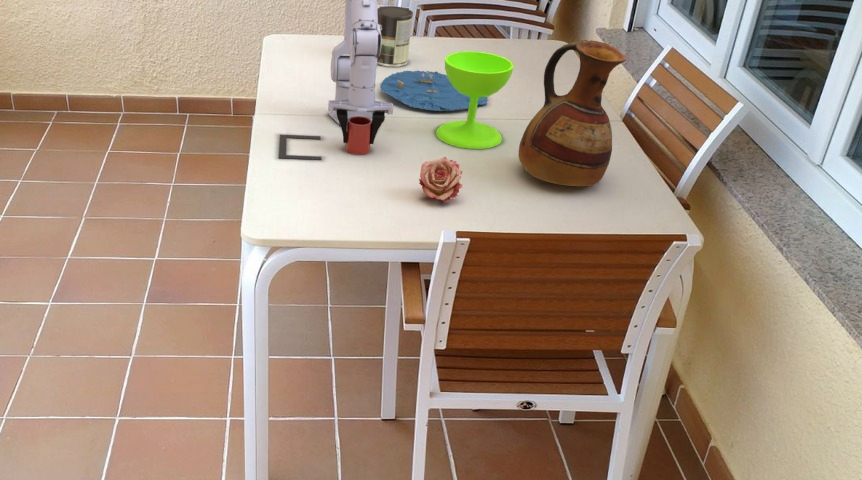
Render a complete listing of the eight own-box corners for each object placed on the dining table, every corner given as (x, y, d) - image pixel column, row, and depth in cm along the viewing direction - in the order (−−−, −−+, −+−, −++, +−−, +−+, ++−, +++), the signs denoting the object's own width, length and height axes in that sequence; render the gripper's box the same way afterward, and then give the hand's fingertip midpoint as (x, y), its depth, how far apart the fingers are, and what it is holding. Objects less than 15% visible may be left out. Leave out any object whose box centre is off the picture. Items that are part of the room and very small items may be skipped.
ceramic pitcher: (586, 204, 206) (618, 65, 189) (500, 179, 214) (522, 43, 197) (616, 174, 220) (648, 42, 203) (534, 152, 228) (558, 23, 211)
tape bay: (320, 136, 229) (320, 136, 229) (321, 160, 218) (321, 159, 217) (279, 135, 228) (279, 134, 228) (278, 158, 217) (278, 157, 217)
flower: (415, 176, 209) (415, 157, 201) (457, 169, 209) (458, 150, 201) (423, 216, 205) (423, 198, 198) (465, 209, 205) (467, 190, 198)
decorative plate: (457, 76, 274) (460, 58, 271) (505, 113, 251) (508, 93, 248) (360, 77, 265) (362, 58, 262) (400, 116, 242) (402, 95, 239)
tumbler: (363, 144, 227) (365, 115, 223) (373, 153, 222) (376, 124, 218) (341, 146, 225) (343, 117, 221) (351, 155, 221) (353, 126, 216)
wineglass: (459, 152, 225) (469, 76, 215) (423, 128, 237) (431, 54, 227) (515, 143, 232) (527, 69, 222) (477, 120, 243) (487, 48, 233)
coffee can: (374, 66, 273) (379, 15, 265) (370, 55, 282) (373, 5, 274) (410, 67, 274) (416, 16, 266) (404, 56, 283) (409, 6, 275)
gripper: (330, 88, 211) (327, 147, 219) (396, 91, 212) (390, 150, 220) (329, 77, 217) (326, 135, 225) (393, 80, 218) (388, 138, 225)
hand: (358, 142), depth 222 cm, fingers closed on tumbler, 5 cm apart
